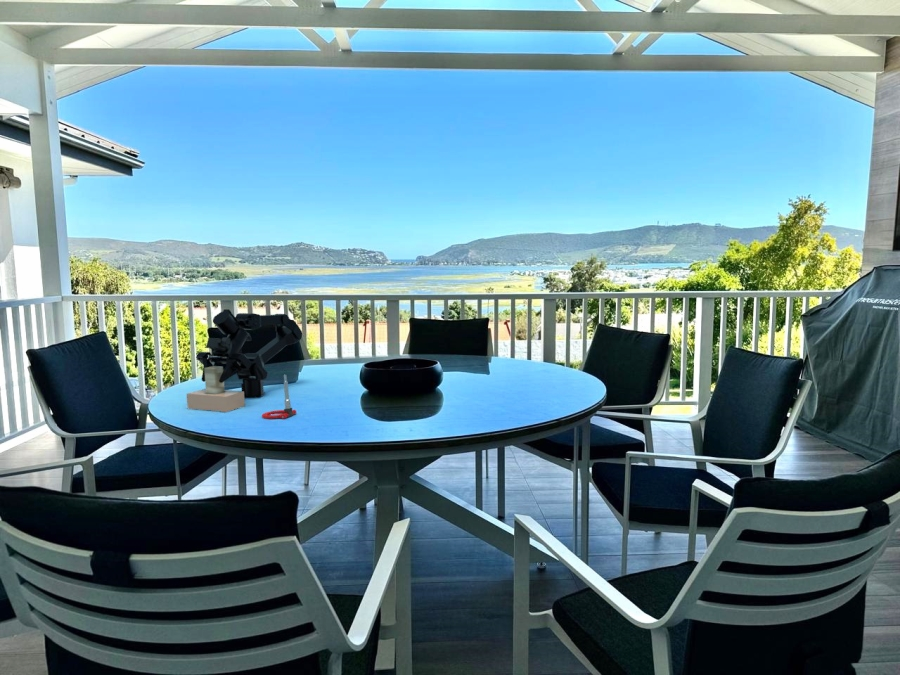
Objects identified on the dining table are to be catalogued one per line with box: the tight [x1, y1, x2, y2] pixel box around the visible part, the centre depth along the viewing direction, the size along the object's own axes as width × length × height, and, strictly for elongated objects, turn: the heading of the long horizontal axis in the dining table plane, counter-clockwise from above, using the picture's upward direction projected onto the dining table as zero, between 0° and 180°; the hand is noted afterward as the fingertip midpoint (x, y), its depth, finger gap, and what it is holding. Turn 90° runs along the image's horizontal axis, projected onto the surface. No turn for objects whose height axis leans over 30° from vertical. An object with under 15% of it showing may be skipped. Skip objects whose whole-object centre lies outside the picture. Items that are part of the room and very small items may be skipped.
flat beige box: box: [186, 388, 246, 413], centre depth 190 cm, size 8×16×5 cm, turn 68°
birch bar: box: [204, 365, 226, 395], centre depth 189 cm, size 4×4×12 cm
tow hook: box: [261, 374, 297, 420], centre depth 177 cm, size 8×13×9 cm
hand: (211, 381), depth 188 cm, fingers open, 7 cm apart
